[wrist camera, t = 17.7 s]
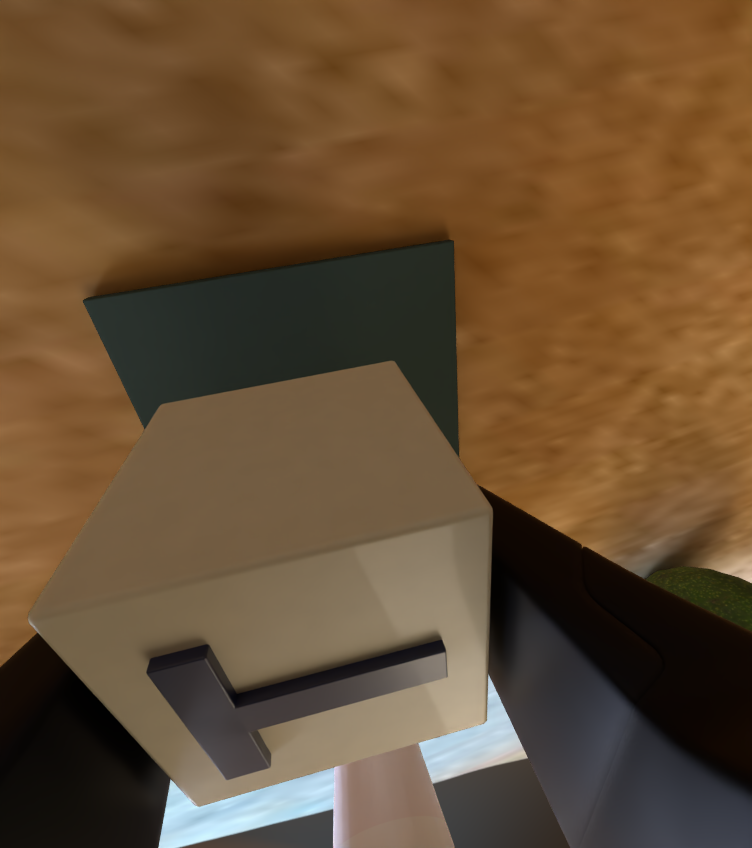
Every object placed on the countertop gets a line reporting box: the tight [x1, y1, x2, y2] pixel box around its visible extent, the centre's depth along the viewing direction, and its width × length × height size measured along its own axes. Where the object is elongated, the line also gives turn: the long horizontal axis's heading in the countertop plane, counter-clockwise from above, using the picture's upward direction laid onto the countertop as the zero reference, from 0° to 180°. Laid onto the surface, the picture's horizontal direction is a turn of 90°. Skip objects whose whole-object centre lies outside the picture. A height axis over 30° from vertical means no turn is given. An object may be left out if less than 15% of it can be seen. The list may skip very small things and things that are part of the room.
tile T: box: [28, 361, 493, 807], centre depth 7 cm, size 4×4×5 cm
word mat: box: [83, 240, 459, 457], centre depth 17 cm, size 11×20×1 cm, turn 7°
